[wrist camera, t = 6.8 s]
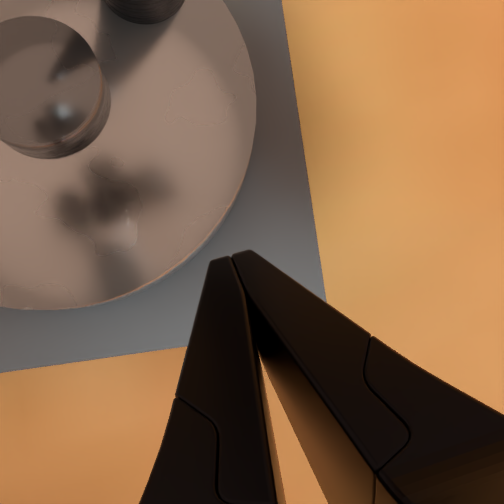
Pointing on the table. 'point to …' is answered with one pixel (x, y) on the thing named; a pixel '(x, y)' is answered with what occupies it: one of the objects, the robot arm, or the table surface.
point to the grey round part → (116, 143)
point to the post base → (221, 244)
